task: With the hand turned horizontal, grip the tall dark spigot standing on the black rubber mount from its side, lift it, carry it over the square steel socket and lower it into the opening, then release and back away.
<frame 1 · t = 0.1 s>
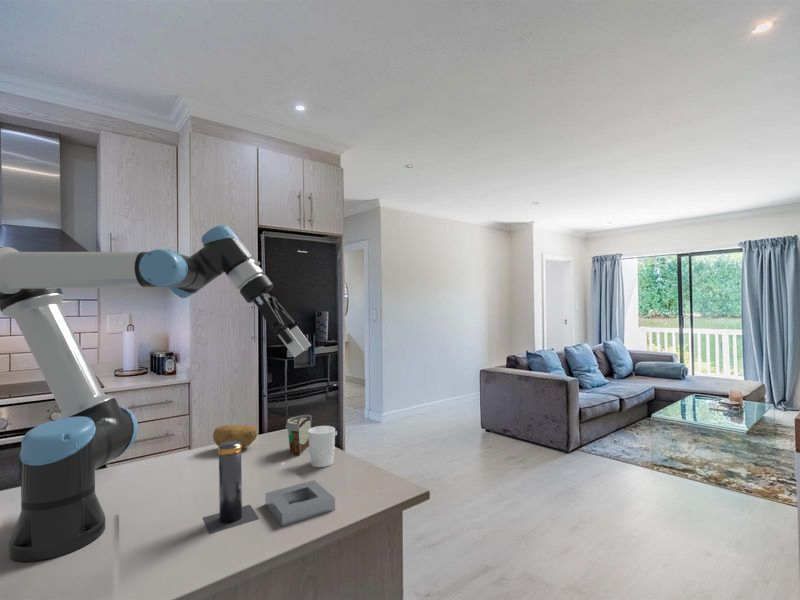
hand: (303, 351, 103), 36 cm above the counter, tool tilted 35°, fingers open, 13 cm apart
spigot: (230, 518, 90), point 1 cm above the counter, touching mount
socket: (299, 511, 94), on the counter
white cup: (322, 463, 123), on the counter
potato: (235, 449, 137), on the counter
food container: (296, 450, 135), on the counter
mount: (231, 522, 90), on the counter
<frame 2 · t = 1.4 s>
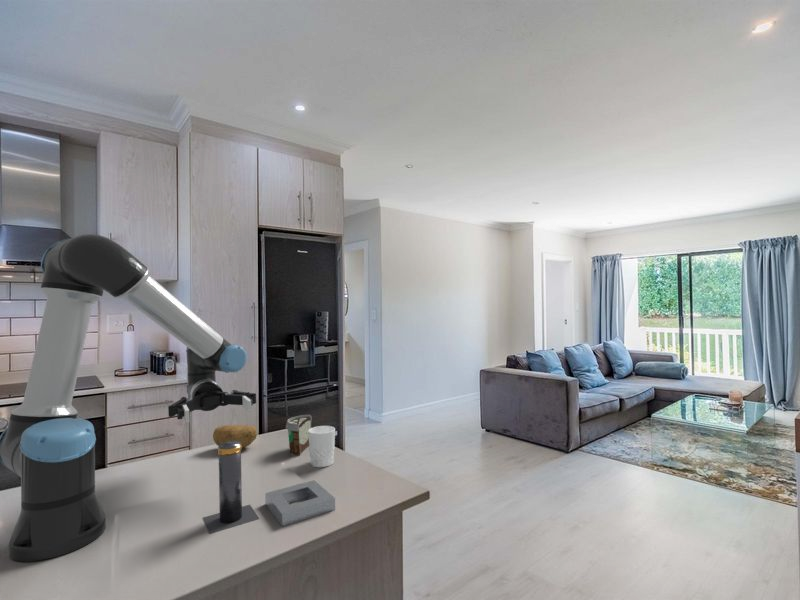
hand: (219, 411, 97), 22 cm above the counter, tool horizontal, fingers open, 13 cm apart
nothing on the counter moved.
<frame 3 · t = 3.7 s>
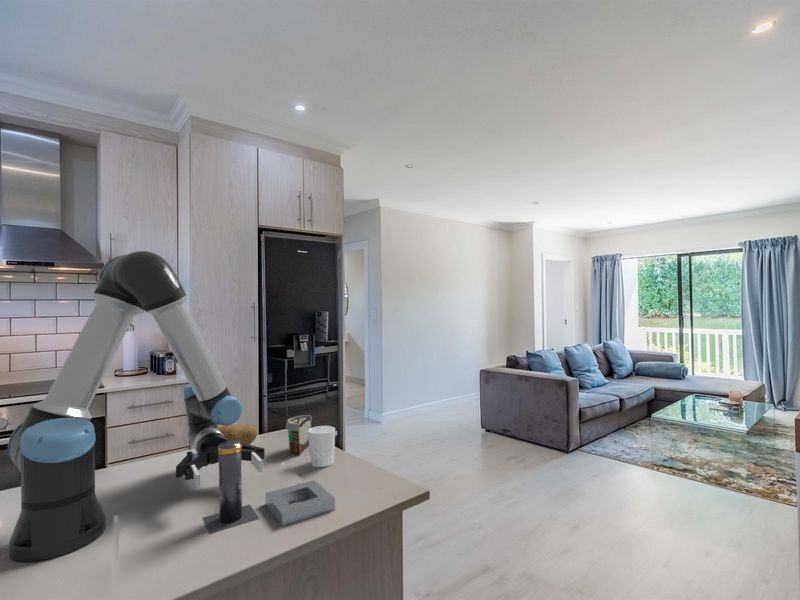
hand: (230, 473, 94), 9 cm above the counter, tool horizontal, fingers open, 13 cm apart
nothing on the counter moved.
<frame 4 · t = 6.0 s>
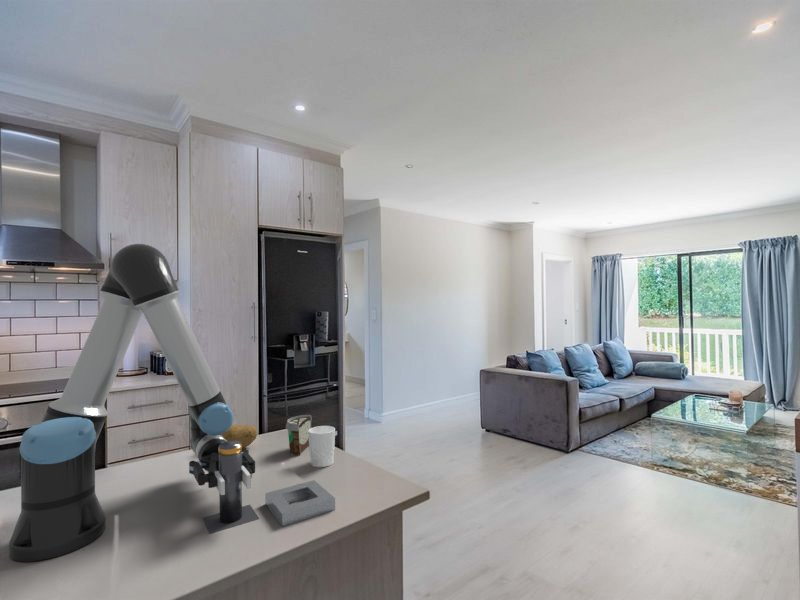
hand: (236, 484, 85), 10 cm above the counter, tool horizontal, fingers closed on spigot, 4 cm apart
spigot: (230, 518, 90), point 1 cm above the counter, touching gripper, mount
everything else where it was.
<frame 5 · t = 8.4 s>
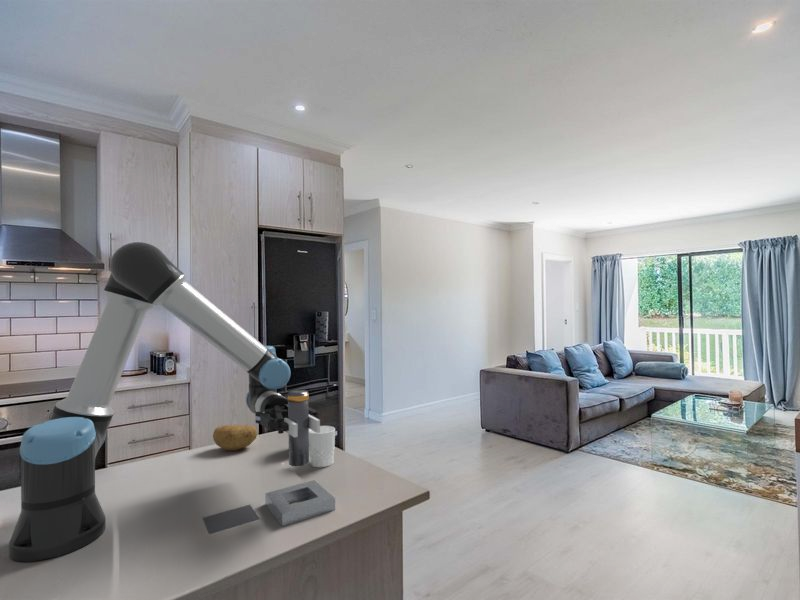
hand: (307, 428, 90), 20 cm above the counter, tool horizontal, fingers closed on spigot, 4 cm apart
spigot: (299, 462, 94), point 11 cm above the counter, touching gripper
everything else where it was.
when the fingers open (10 cm above the counter, at t = 10.7 s): spigot drops 2 cm, resting in socket.
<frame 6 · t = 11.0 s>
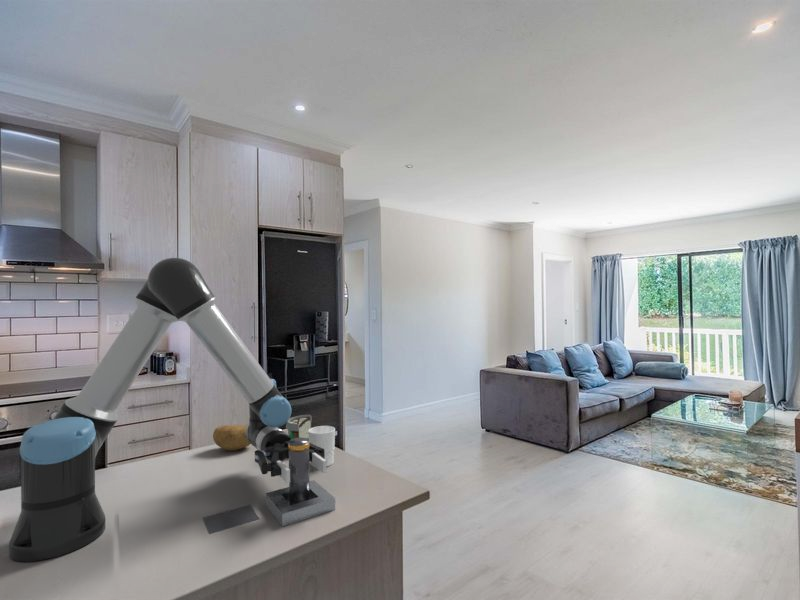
hand: (307, 471, 90), 10 cm above the counter, tool horizontal, fingers open, 8 cm apart
spigot: (299, 510, 94), resting in socket
everything else where it was.
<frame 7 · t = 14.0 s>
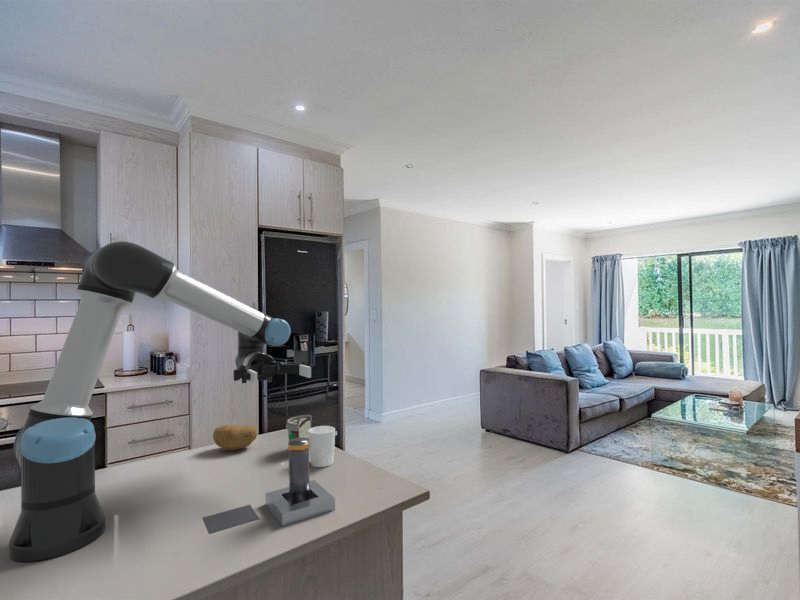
hand: (283, 375, 103), 30 cm above the counter, tool horizontal, fingers open, 13 cm apart
nothing on the counter moved.
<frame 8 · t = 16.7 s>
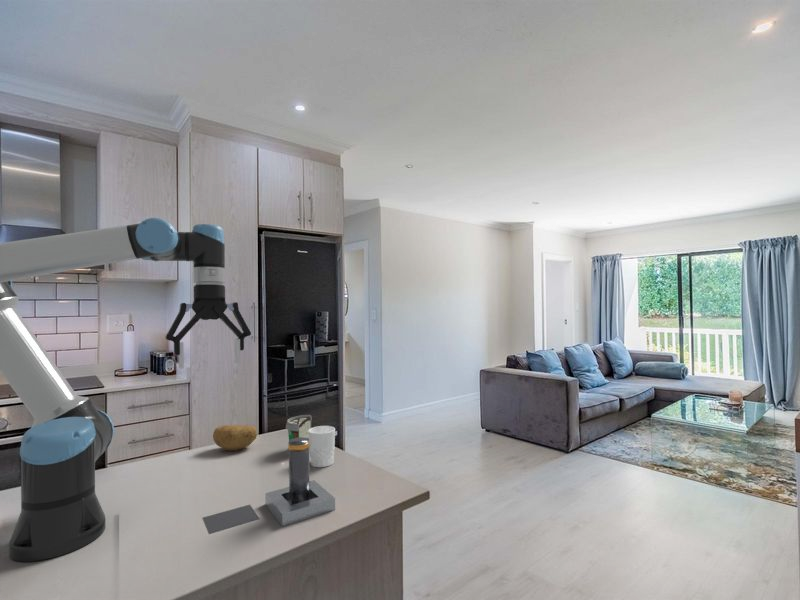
hand: (210, 365, 108), 32 cm above the counter, tool pointing down, fingers open, 13 cm apart
nothing on the counter moved.
at the end: spigot 0.0 cm off-centre on the socket, point 0.0 cm above the socket's base; spigot tilted 0°; the gripper is holding nothing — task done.
